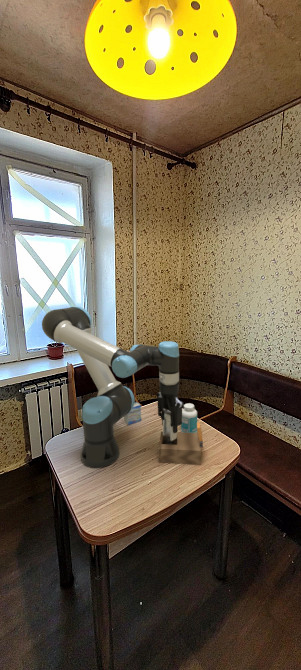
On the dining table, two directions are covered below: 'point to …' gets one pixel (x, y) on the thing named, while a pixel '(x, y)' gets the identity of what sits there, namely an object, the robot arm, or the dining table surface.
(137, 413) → the medicine box
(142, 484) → the dining table surface
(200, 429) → the plate
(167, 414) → the steel pin
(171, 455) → the block
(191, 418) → the pill bottle
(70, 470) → the dining table surface
